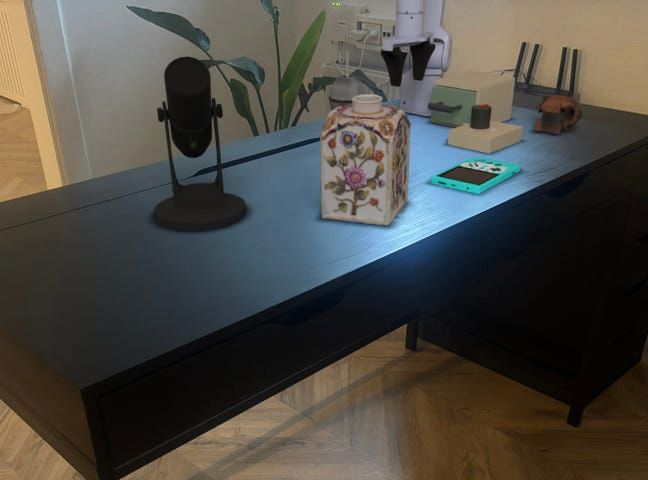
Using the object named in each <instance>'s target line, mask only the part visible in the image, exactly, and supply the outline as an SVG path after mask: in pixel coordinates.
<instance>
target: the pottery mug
mask: <svg viewBox="0 0 648 480" xmlns="http://www.w3.org/2000/svg"><path fill="white" fill-rule="evenodd" d="M536 109H538V111H537V113H538V114H541V119H539V120H535V121H534V128H533V129H534V130H533V131H534V132H545V133H548V134H549V133H550V134H553V135H554V134H555V135H560V132H561V129H562V127H563V129H564V131H570V130H572V128H573V127H574V126H575V125H576V124H578V123H579V121H580V120H581V118H582V117H583V109H582V107H581V106H579V105H578V102H577V101H576V99H574V98H572V97H569V96H567V95H560V94H550V95H549V94H548V95H545V96H543V97H542V102H540V103H539V104H538V105H537V106H536Z"/></svg>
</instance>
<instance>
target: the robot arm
mask: <svg viewBox="0 0 648 480" xmlns="http://www.w3.org/2000/svg"><path fill="white" fill-rule="evenodd" d="M395 5H396V6H395V30H394V31H395V32H394V35H392V36H390V37H388V38H386V39H382V48H381V49H380V55H381V58H382V59H383V62H384V63H385V66H386V69H387V73H388V77H389V78H388V79H389V82H390V86H391V87H396V88H398V87H400V101H399V102H400V103H399V109H401V110H402V111H404V112H405V113H408V114H413V115H417V116H423V117H431V110H430V109H428V104H429V103H432V88H433V86H434V80H438V79H442V78H444V73H446V72H448V71H449V69H450V67H451V63H452V58H453V57H452V55H453V39H452V35H451V34H450V33H449V32H448V31H447V30H446V29H444V28H443V23H444V15H445V14H444V13H445V7H446V0H395ZM402 48H403V49H404V48H406V49H405V51H402ZM404 66H405V67H406V68H407V70H408V71H406V72H405V73H404V74H403V72H404Z"/></svg>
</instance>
